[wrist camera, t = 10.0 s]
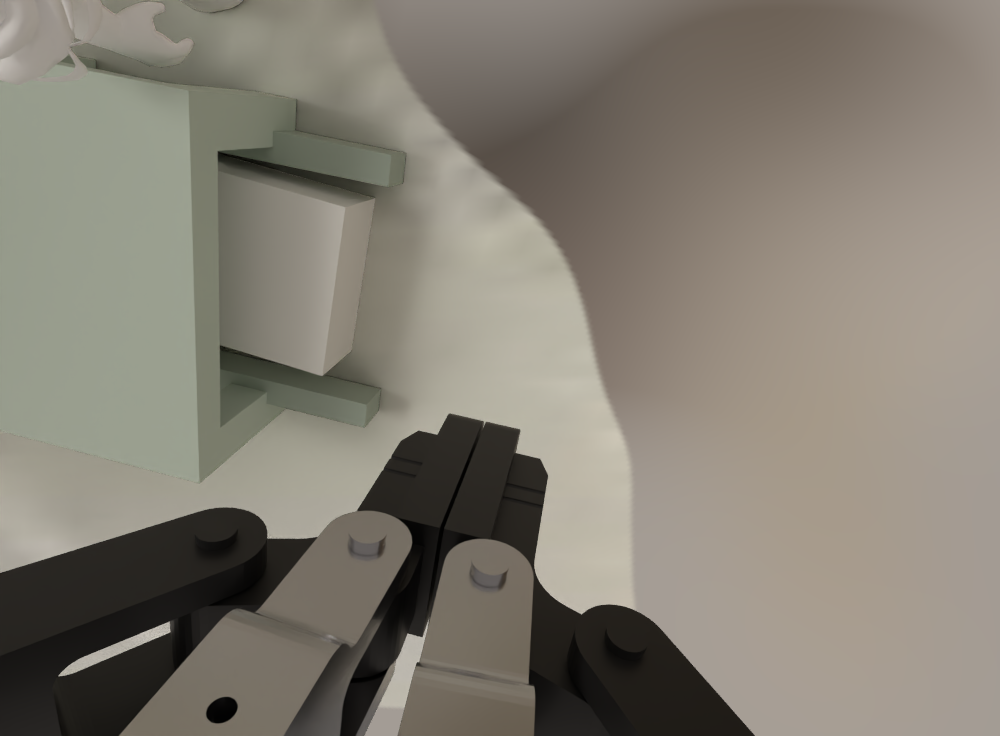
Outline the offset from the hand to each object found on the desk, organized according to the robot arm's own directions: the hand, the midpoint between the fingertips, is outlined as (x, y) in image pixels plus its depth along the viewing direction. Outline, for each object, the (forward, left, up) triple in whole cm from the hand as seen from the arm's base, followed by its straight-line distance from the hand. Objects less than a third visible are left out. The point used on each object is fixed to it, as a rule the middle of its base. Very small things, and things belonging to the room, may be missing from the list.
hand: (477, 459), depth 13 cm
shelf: (0, -12, -10) cm, 16 cm away
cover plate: (0, -12, -11) cm, 16 cm away
